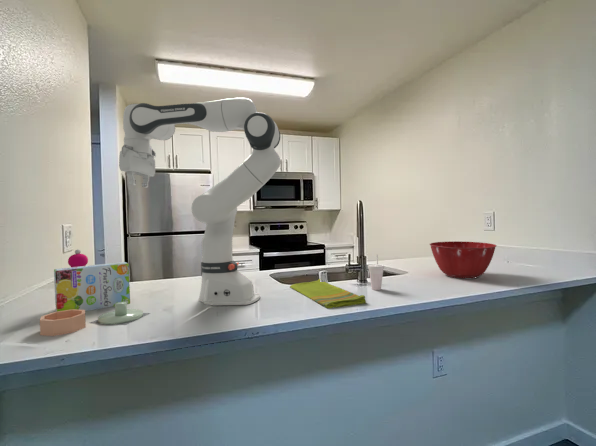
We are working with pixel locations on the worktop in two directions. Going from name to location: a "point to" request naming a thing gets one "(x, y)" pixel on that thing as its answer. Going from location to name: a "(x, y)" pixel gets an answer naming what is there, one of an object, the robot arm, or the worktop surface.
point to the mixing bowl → (463, 258)
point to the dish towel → (328, 294)
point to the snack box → (91, 286)
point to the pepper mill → (77, 259)
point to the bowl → (62, 322)
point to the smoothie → (376, 275)
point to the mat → (122, 323)
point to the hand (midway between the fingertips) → (139, 186)
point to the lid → (120, 315)
